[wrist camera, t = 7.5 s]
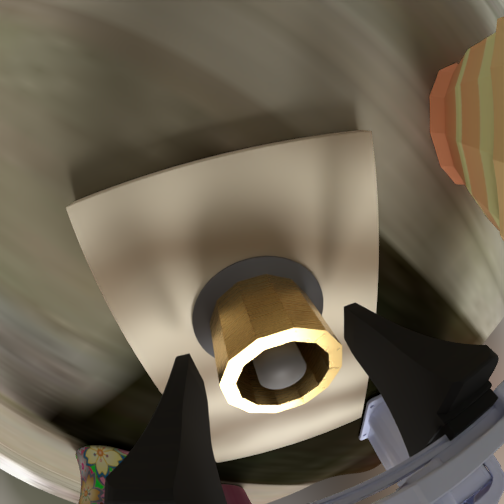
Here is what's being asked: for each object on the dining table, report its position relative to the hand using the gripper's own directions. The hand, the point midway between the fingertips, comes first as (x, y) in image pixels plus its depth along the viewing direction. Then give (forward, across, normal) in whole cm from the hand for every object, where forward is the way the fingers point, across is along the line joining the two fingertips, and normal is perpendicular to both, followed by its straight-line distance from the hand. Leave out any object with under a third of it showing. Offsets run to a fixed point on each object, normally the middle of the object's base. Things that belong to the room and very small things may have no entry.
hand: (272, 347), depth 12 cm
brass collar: (+2, 0, 0) cm, 2 cm away
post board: (+3, 0, +4) cm, 5 cm away
